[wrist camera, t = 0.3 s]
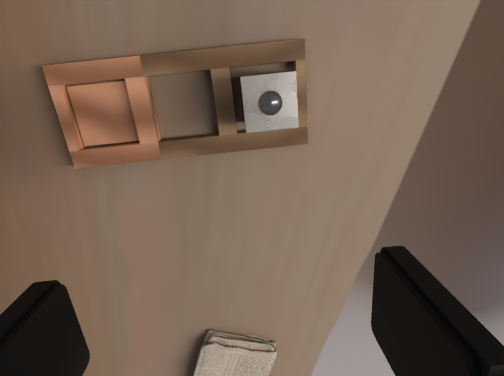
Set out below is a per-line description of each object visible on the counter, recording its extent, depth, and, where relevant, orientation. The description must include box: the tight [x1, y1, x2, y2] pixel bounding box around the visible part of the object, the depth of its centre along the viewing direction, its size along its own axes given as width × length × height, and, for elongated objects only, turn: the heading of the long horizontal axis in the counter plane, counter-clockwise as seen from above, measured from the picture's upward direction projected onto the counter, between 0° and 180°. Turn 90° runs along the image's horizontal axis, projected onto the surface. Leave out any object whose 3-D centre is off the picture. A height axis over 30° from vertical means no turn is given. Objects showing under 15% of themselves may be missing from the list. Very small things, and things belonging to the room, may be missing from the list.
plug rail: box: [42, 38, 308, 169], centre depth 33 cm, size 11×27×2 cm, turn 95°
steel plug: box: [240, 71, 299, 133], centre depth 31 cm, size 5×5×7 cm
